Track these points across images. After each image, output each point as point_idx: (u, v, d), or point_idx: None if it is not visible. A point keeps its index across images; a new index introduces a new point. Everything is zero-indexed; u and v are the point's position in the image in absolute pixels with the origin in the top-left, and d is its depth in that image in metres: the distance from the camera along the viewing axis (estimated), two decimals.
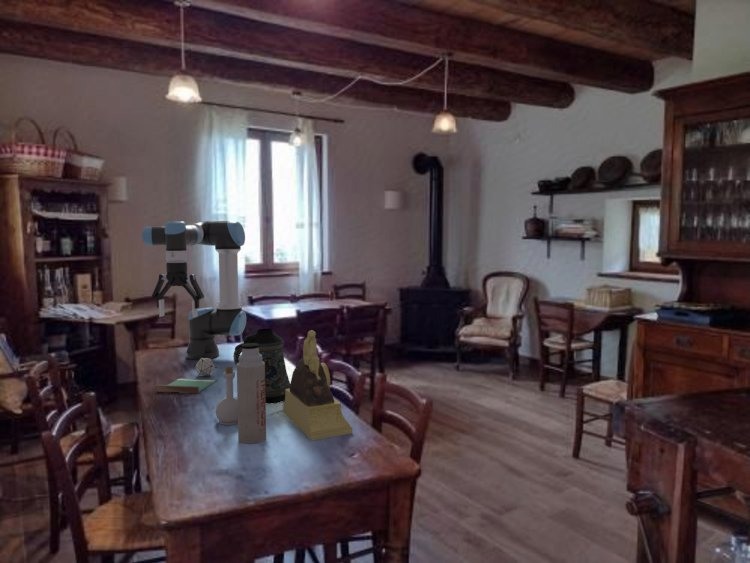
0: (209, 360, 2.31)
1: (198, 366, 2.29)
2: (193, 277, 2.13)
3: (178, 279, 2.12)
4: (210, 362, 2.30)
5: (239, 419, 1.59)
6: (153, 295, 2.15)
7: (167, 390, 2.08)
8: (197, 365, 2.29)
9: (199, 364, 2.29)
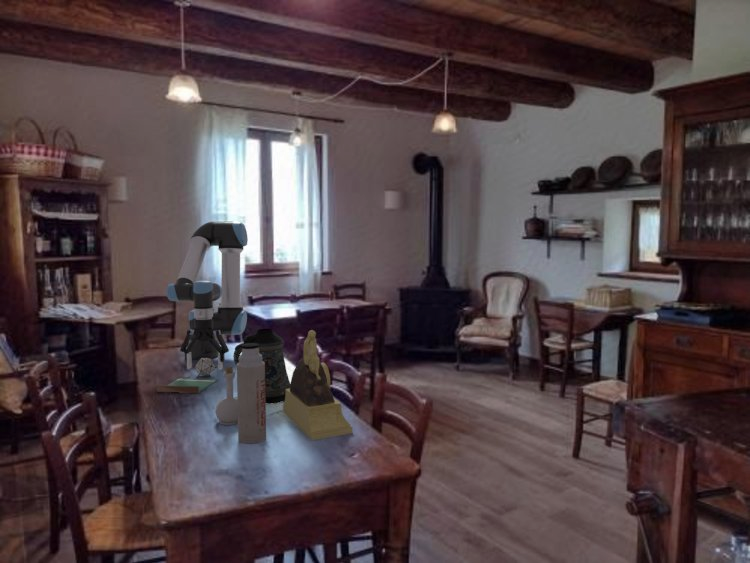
0: (209, 360, 2.31)
1: (198, 366, 2.29)
2: (219, 333, 2.29)
3: (205, 335, 2.28)
4: (210, 362, 2.30)
5: (239, 419, 1.59)
6: (181, 349, 2.31)
7: (167, 390, 2.08)
8: (197, 365, 2.29)
9: (199, 364, 2.29)
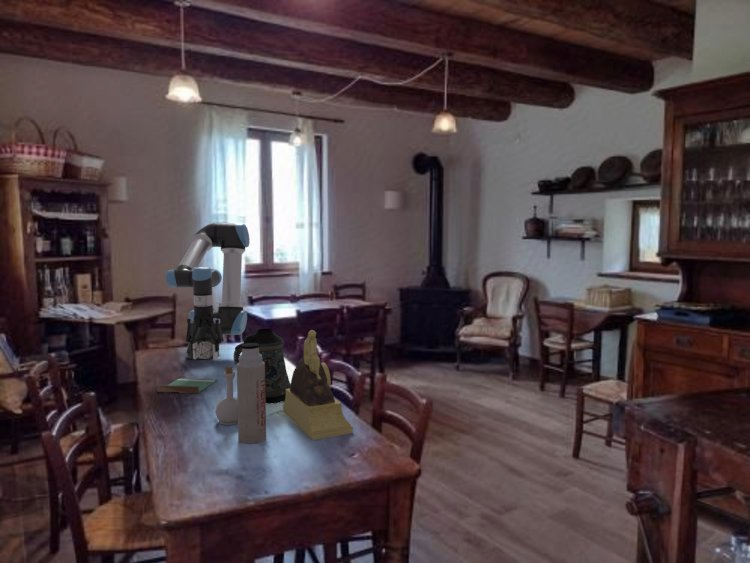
0: (209, 344, 2.31)
1: (198, 350, 2.29)
2: (218, 322, 2.29)
3: (205, 321, 2.28)
4: (210, 346, 2.30)
5: (239, 419, 1.59)
6: (187, 339, 2.31)
7: (167, 390, 2.08)
8: (197, 349, 2.29)
9: (199, 347, 2.29)
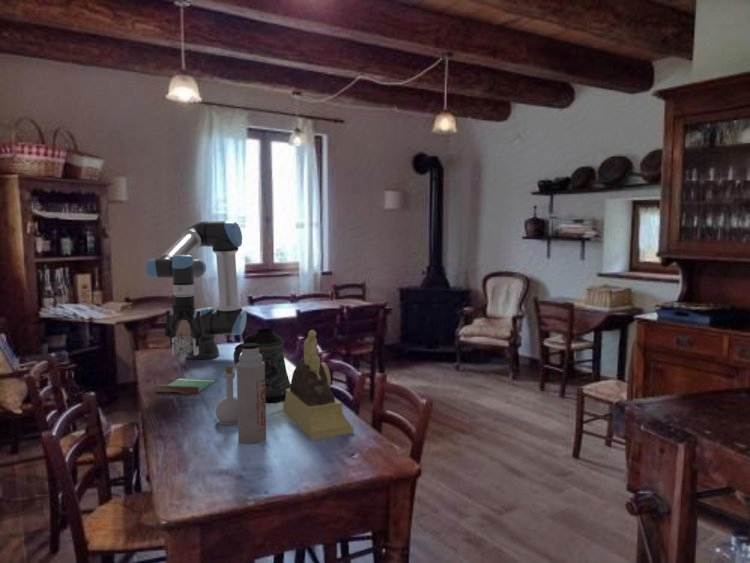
0: (189, 338, 2.13)
1: (177, 344, 2.11)
2: (200, 314, 2.11)
3: (185, 313, 2.11)
4: (190, 340, 2.13)
5: (239, 419, 1.59)
6: (166, 333, 2.13)
7: (167, 390, 2.08)
8: (176, 343, 2.12)
9: (179, 341, 2.11)
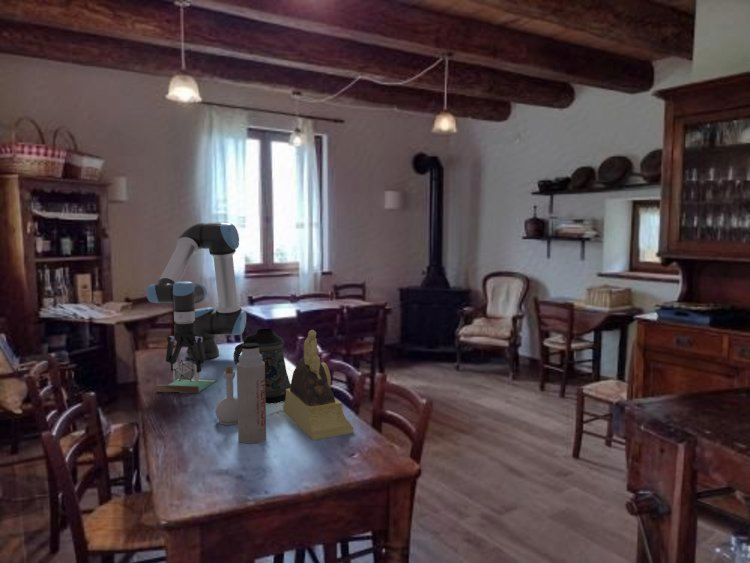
0: (190, 364, 2.14)
1: (178, 370, 2.12)
2: (201, 340, 2.12)
3: (186, 340, 2.12)
4: (191, 366, 2.14)
5: (239, 419, 1.59)
6: (167, 359, 2.14)
7: (167, 390, 2.08)
8: (177, 369, 2.13)
9: (180, 368, 2.12)
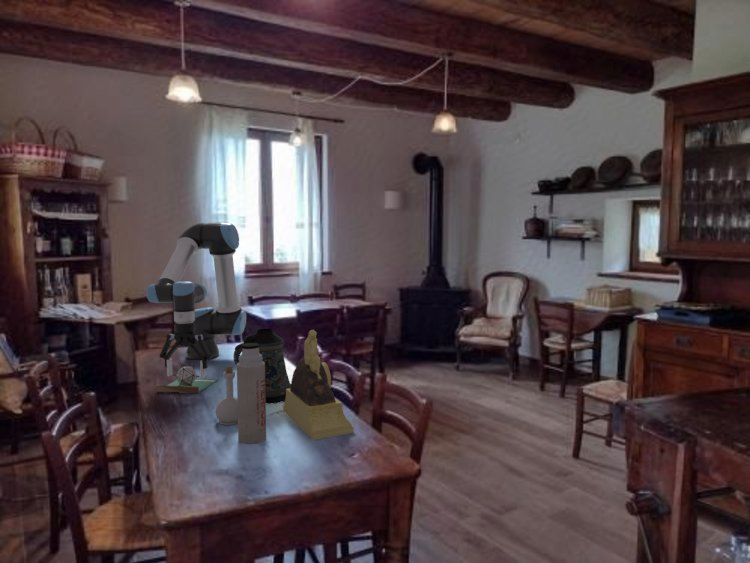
0: (191, 369, 2.15)
1: (179, 375, 2.13)
2: (201, 337, 2.12)
3: (186, 340, 2.12)
4: (191, 371, 2.14)
5: (239, 419, 1.59)
6: (161, 355, 2.14)
7: (167, 390, 2.08)
8: (178, 374, 2.13)
9: (180, 373, 2.13)
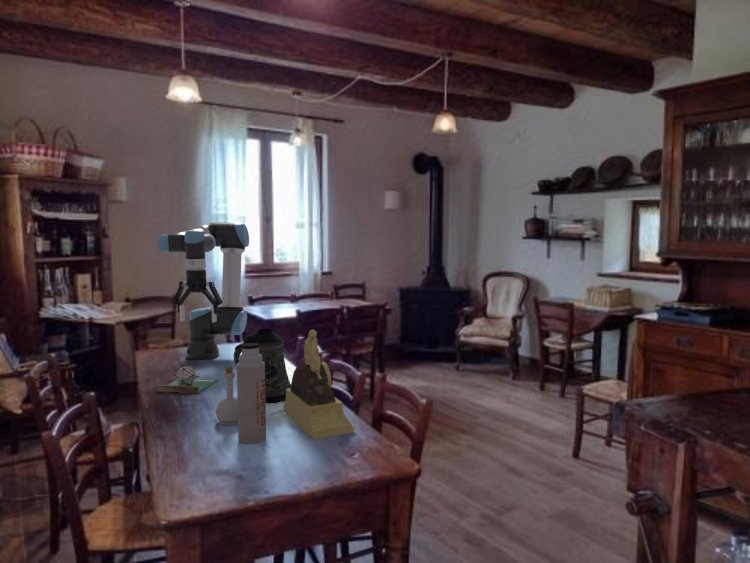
0: (191, 369, 2.15)
1: (179, 375, 2.13)
2: (212, 284, 2.21)
3: (198, 286, 2.21)
4: (191, 371, 2.14)
5: (239, 419, 1.59)
6: (174, 301, 2.24)
7: (167, 390, 2.08)
8: (178, 374, 2.13)
9: (180, 373, 2.13)
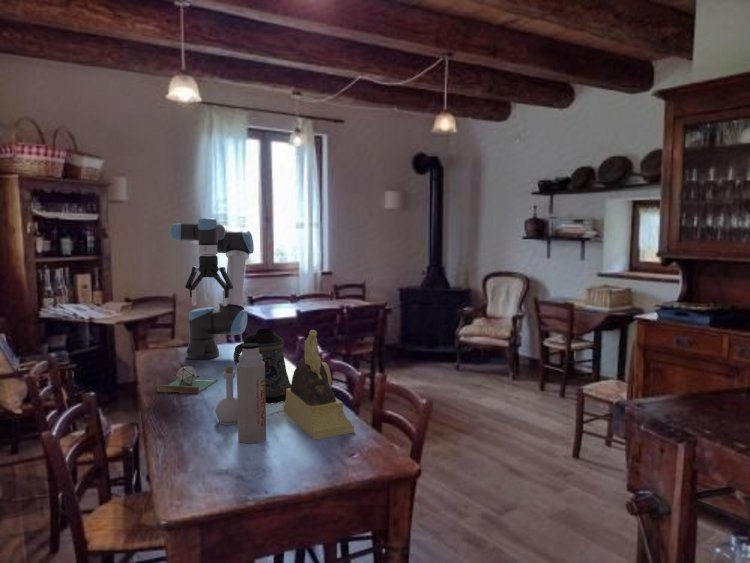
0: (191, 369, 2.15)
1: (179, 375, 2.13)
2: (223, 269, 2.32)
3: (210, 271, 2.31)
4: (191, 371, 2.14)
5: (239, 419, 1.59)
6: (186, 286, 2.34)
7: (167, 390, 2.08)
8: (178, 374, 2.13)
9: (180, 373, 2.13)
